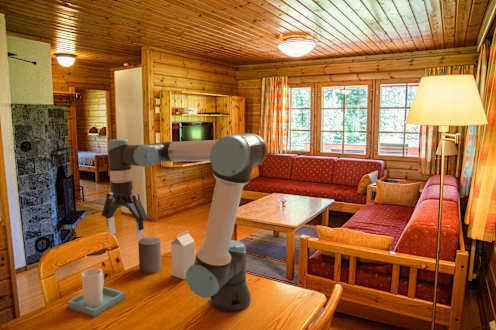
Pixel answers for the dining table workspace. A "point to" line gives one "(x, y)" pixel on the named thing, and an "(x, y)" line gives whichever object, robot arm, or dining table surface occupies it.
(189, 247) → the milk carton
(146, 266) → the dark gray cylinder
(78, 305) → the tray
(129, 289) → the dining table surface
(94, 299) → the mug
